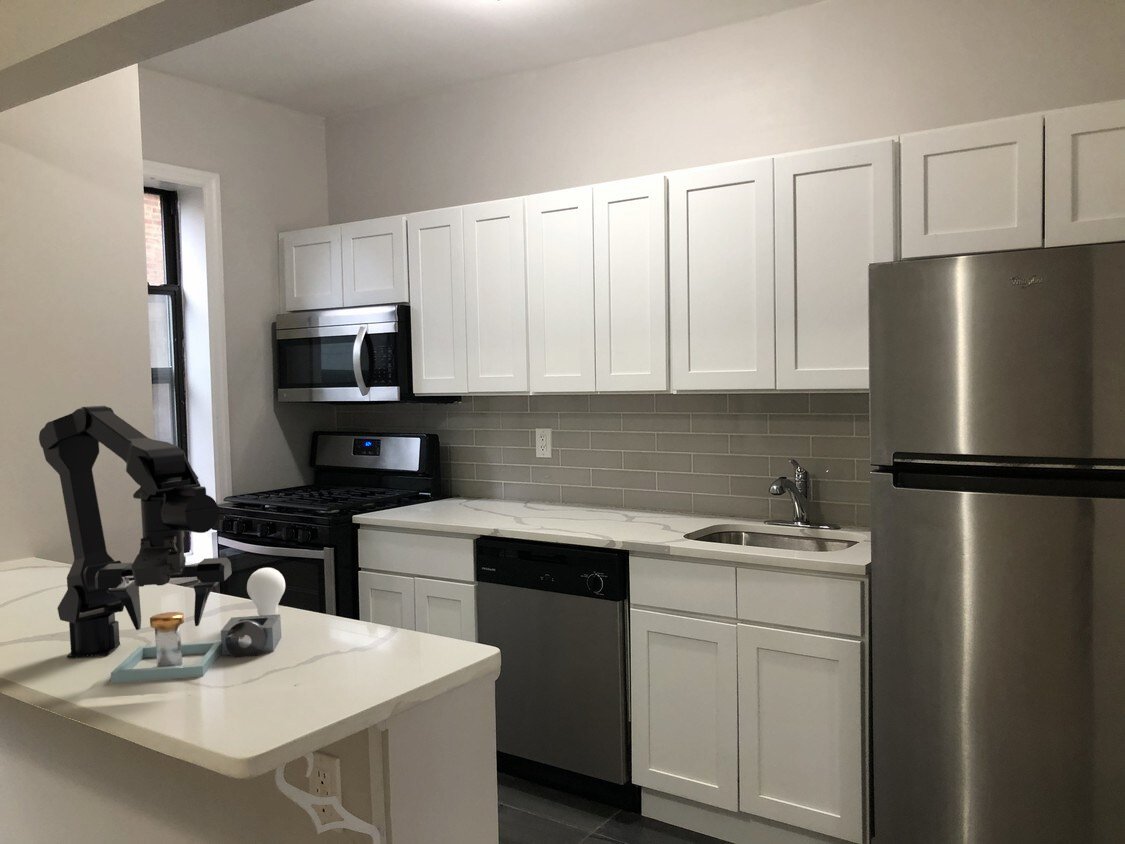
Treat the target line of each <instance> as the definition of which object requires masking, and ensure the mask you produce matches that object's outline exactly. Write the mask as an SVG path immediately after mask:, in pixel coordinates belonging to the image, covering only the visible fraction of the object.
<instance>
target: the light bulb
mask: <svg viewBox="0 0 1125 844" xmlns="http://www.w3.org/2000/svg"><path fill="white" fill-rule="evenodd" d="M285 590H286V581H285V578H284V576H283V574H282V573H281V572H280V571H279V570H277V569H275V568H273V567H262V568H258V569H257V570H256V571H253V573H252V574H251V575H250V576H249V578H248V580H247V584H246V591H247V594H248V596H249V598H250V599H251V601H252V602H253V604H254V605H255V608H256V609H257V611H256V612H257V616H263V615H277V613H278V608H279V607H278V606H279V603H280V601H281V599H282V597H283V595H284V593H285Z"/></svg>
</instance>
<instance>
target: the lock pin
mask: <svg viewBox="0 0 1125 844" xmlns="http://www.w3.org/2000/svg"><path fill="white" fill-rule="evenodd" d="M184 615H185V614H184V613H183V612H181V611H169V612H162V613H157V614H155V615H152V616H150V618H149V624H150V625H149V626H150V628H153V629H154V636H155V637H154V638H155V645H156V655H157V657H156V667H170V666H183V655H182V649H181V644H182V637H181V636H182V635H181V633H182V632H181V625H183V624H184V623H185V616H184Z"/></svg>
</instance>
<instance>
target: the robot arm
mask: <svg viewBox="0 0 1125 844" xmlns="http://www.w3.org/2000/svg"><path fill="white" fill-rule="evenodd" d="M38 440H39V444H40V446H41V448H42V451H43V454H44V455H43V456H44V458H45V461H46V463H48V465H49V466H51V467H52V468H53V470H54V471H55V473H57V474H58V475H59V480H60V484H61V492H62V497H63V503H64V507H65V513H66V518H67V525H68V529H69V535H70V542H71V547H72V552H73V559H74V560H73V563H72V565H71V567H70V568H69V572H68V574H67V577H66V587H67V590H66V592H65V594H64V596H63V597H62V599H61V601H60V603H59V604H58V606H57V614H58V617H59V620H60V621H62V622H66V623H67V622H68V623H69V624H68V625H69V626H68V628H69V642H70V644H69V645H70V652H69V653H68V654H67V655H66V659H74V658H89V657H102V656H104V657H105V656H109V655H110V654H111V653H113V652H114V651H115V650H116V649H117V648H118V647H119V646H121V642H120V627H119V625H120V624H119V620H116V614H115V613H121V612H123V611H124V609H126V611H127V614H128V616H129V618H130V620H131V622H132V625H133V628H135V630H136V631H140V629H141V628H142V611H141V599H140V587H145V586H154V585H155V586H158V587H159V586H164V585H167V584H168V583H169V582H170V580H171V579H180V578H182V579H183V578H184V579H185V578H196V579H197V580H198V581H197V582H196V583H195V584H194V585H193V590H194V595H195V596H194V613H193V615H194V617H193V620H194V627H199V625H200V622H201V621H202V617H203V614H204V611H205V608H206V604H207V601H208V598H209V596H210V594H211V592H212V589H213V588H214V587H216V586H218V584H219V583H222V582H225V581H226V580H227V579H228V578H229V577H230V576H231V575H232V572H233V571H232V563H231V560H230V559H229V558H228V557H225V556H224V557H214V558H213V557H212V558H211V557H209V558H207V557H206V558H204V559H202V560H201V561H200V562H198V563H197V564H189V565H188V564H186V563H187V562H186V561H187V558H186V556H185V550H184V549H185V548H184V547H185V546H184V538H185V532H189V533H196V534H204V533H207V532H209V531H210V530H212V529H213V528H214V527H215V526H216V524H217V522H218V519H219V517H220V508H219V506H218V504H217V501H216V500H215V499H214V498H213V497H212V496H210V495H208V494H207V488H206V486H201V484H200V481H199V476H198V475H197V474H196V472H195V471H194V470H193V468H192V466H191V463H190V462H189V460H188V458H187V456H186V453H185V452H184V450H183V449H182V447H179V446H178V445H174V444H173V443H170V442H168V441H162V440H158V439H152V438H150V437H148V436H146V435H145V434H143V433H142V432H141V431H139V430H138V429H137V428H136V427H133V425H131V424H129V423H128V422H127V421H125V420H124V418H121V417H119V416H118V415H117V414H116V413H115V412H114V410H113V408H112V407H109V406H106V405H92V406H81V407H80V408H77V409H76V410H74V411H73V412H71V413H69V414H66V415H64V416H61V417H59V418H56V419H54V420H51V421H48V422H47V423H46V424H45V426H44V427H42V428H41V430H40V431H39V435H38ZM100 444H102V445H103V446H104V447H106V448H107V449H108V450H109V451H111V452H112V453H114V454H115V455H117V456H118V457H119V458H120V459H122V460H123V461H124V462H125V464H126V465H125V466H126V467H125V471H126V473H127V474H128V475H129V476H130V477H131V478H132V480H133V481H134V482H135V483H136V484H137V485H139V486H140V487H139V488H138V489H137V490H136V491H135V492H134V493H133V494H132V496H133V499H135V500H136V499H137V500H140V510H141V511H140V514H141V529H142V530H141V531H142V532H141V533H142V537H141V538H140V544H139V545H140V548H139V553H138V554H137V555H136V557H135V559H134V560H133V562H122V561H121V560H114V558H113V557H112V556H111V555H109V553H108V551H107V545H106V540H105V535H104V534H105V533H104V529H103V522H102V518H101V512H100V507H99V500H98V494H97V489H96V484H95V477H94V474H93V473H94V472H93V467H94V465H95V463H96V461H97V459H98V456H99V454H100Z"/></svg>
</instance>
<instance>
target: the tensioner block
mask: <svg viewBox="0 0 1125 844" xmlns="http://www.w3.org/2000/svg"><path fill="white" fill-rule="evenodd" d="M281 618H282V617H281V614H279V613H278V614H275V615H263V616H259V615H252V616H238V617H236V616H235V617H233V616H232V617H230V618H229V620H228V621H227V622H226V623H225V625H224V626H223V627H222V629H221V630H220V639H221V640H220V641H221V645H222V652H221V656H223V657H224V656H233V657H234V658H246V657H247V658H248V657H257V656H259V654H261V653H262V654H265V653H273V652H275V651H276V649H277V646H278V645H279V642H280V641H281V640H282V621H281Z"/></svg>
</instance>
